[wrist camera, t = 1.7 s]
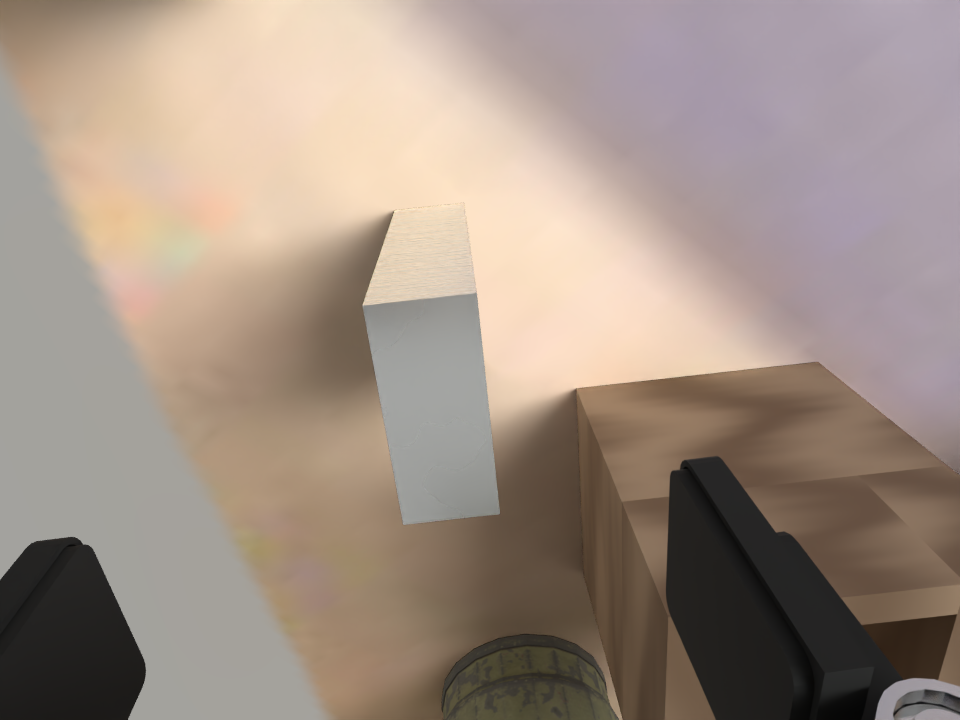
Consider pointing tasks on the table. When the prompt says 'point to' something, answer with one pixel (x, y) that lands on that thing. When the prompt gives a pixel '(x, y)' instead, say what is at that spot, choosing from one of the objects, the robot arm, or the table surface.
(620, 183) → the table surface
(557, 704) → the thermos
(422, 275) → the white block
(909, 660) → the slotted wooden block
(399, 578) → the table surface
